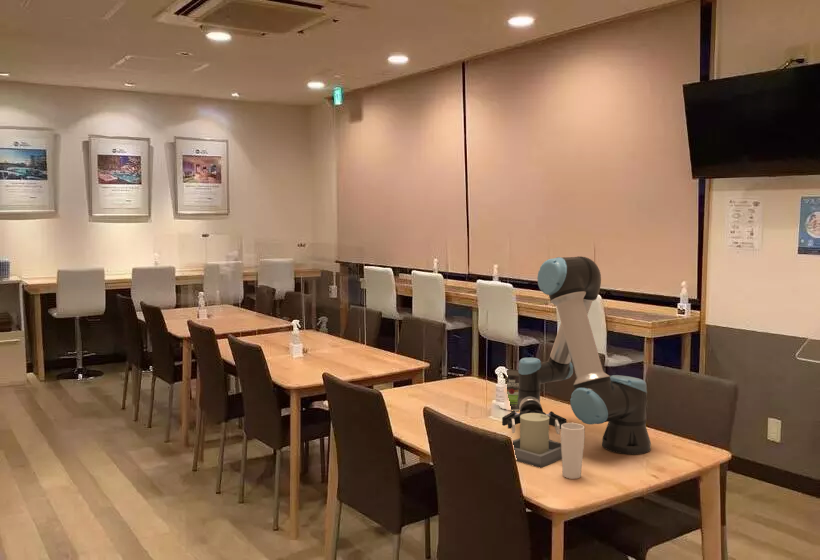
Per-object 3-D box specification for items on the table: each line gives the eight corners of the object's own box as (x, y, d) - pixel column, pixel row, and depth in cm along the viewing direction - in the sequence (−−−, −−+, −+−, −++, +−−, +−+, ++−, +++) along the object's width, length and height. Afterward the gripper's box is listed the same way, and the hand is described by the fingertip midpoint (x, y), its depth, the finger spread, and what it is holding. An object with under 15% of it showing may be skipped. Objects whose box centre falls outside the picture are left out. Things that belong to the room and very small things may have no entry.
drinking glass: (580, 472, 217) (581, 422, 216) (586, 480, 211) (587, 429, 209) (557, 472, 217) (558, 422, 216) (562, 480, 210) (563, 429, 209)
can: (553, 456, 228) (553, 418, 227) (524, 458, 226) (524, 420, 225) (543, 447, 237) (544, 410, 236) (515, 448, 236) (516, 411, 234)
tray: (569, 455, 232) (569, 445, 231) (540, 467, 221) (540, 456, 221) (529, 444, 242) (529, 434, 242) (500, 455, 232) (500, 445, 231)
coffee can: (525, 412, 281) (525, 375, 280) (498, 410, 283) (498, 374, 282) (527, 405, 291) (527, 370, 290) (501, 403, 293) (501, 368, 292)
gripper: (568, 422, 248) (576, 442, 227) (493, 420, 250) (495, 440, 229) (568, 400, 247) (577, 418, 226) (493, 398, 249) (495, 416, 228)
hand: (536, 429), depth 227 cm, fingers open, 13 cm apart
